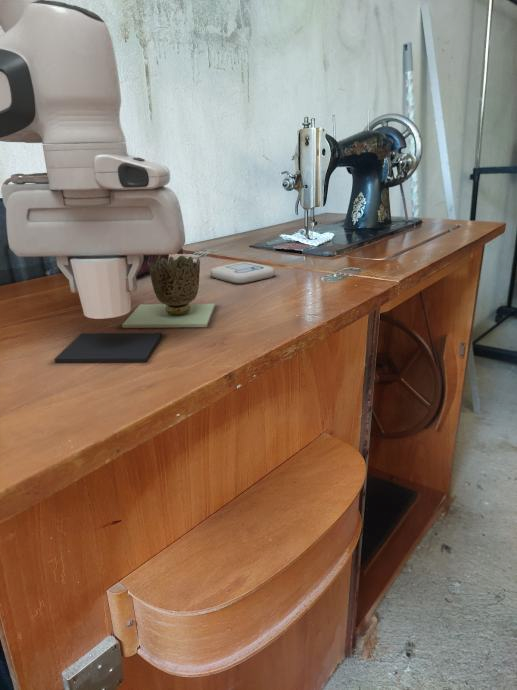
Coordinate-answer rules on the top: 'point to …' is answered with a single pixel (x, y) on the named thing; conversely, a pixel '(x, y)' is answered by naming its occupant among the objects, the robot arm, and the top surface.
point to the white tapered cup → (102, 285)
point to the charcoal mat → (110, 347)
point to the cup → (175, 283)
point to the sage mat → (168, 317)
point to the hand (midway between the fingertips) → (105, 291)
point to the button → (242, 272)
